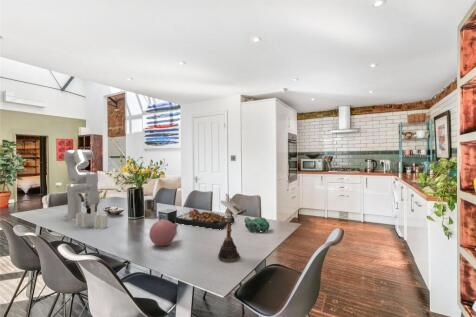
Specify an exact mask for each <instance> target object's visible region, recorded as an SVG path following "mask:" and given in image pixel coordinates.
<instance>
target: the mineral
mask: <svg viewBox="0 0 476 317" xmlns="http://www.w3.org/2000/svg"><path fill="white" fill-rule="evenodd" d="M244 226H245V227H246V229H247V230H248V231H250V233H252V232H260V231H263V232H267V231H268V230H269V229H270V223H269V221H268V220H267V219H266V218H265V217H255V218H254V219H251V218H249V217H247V216H246V217H245V218H244ZM260 233H261V232H260Z"/></svg>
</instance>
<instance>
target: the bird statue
mask: <svg viewBox="0 0 476 317" xmlns="http://www.w3.org/2000/svg"><path fill="white" fill-rule="evenodd" d="M220 203H221V204H222V205H223V206H225V207H226V208H227V212H226V213H225V215H224V216H225V217H224V218H225V222H227V227H226V229H225V230H226V236H225V237H224V239H223V243H222V244H221V246H220V249H219V251H218V255H217V258H218V261H219V260H220V261H219V262H222V261H223V263H226V262H228V263H236V262H238V259H239V260H240V259H241V255H240V253H239V252H238V250H237V246H236V244H235V243H234V241H233V236H232V228H231V227H232V224H231V222H233V218H234V219H235V218H237V217H238V216H239V215H242V214H244V213H246V212H247V208H243V207H242V206H240V205H239V204H238V203H237V202H236V201H235V197H234V195H233V196H232V198H231V197H230V196H229V194H228V193H225V199H224V200H220ZM235 261H236V262H235Z"/></svg>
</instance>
